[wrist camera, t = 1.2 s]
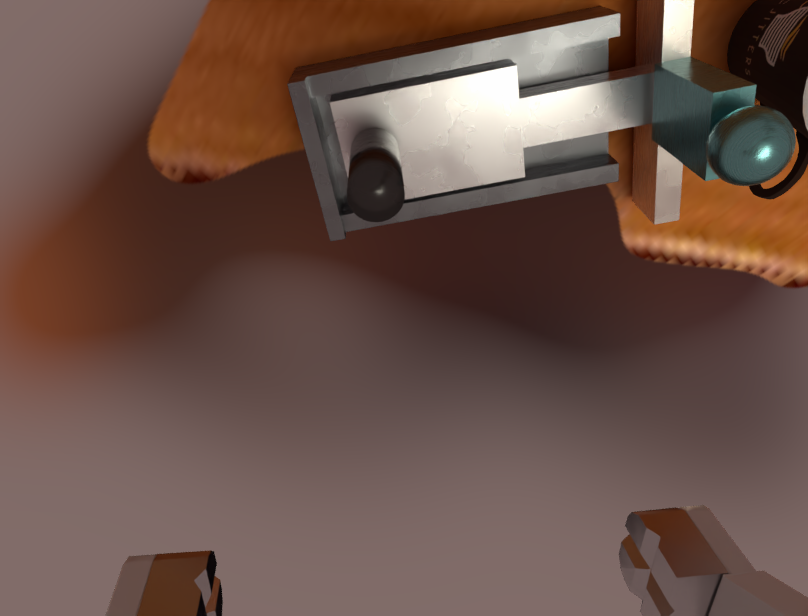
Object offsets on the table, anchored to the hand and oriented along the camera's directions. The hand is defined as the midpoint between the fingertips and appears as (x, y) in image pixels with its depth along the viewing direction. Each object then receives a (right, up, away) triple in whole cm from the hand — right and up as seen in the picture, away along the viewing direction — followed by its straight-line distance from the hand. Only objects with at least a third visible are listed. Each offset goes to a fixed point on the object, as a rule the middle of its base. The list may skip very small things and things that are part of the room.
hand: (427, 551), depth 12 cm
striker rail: (+3, +17, +28) cm, 33 cm away
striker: (+6, +18, +28) cm, 33 cm away
